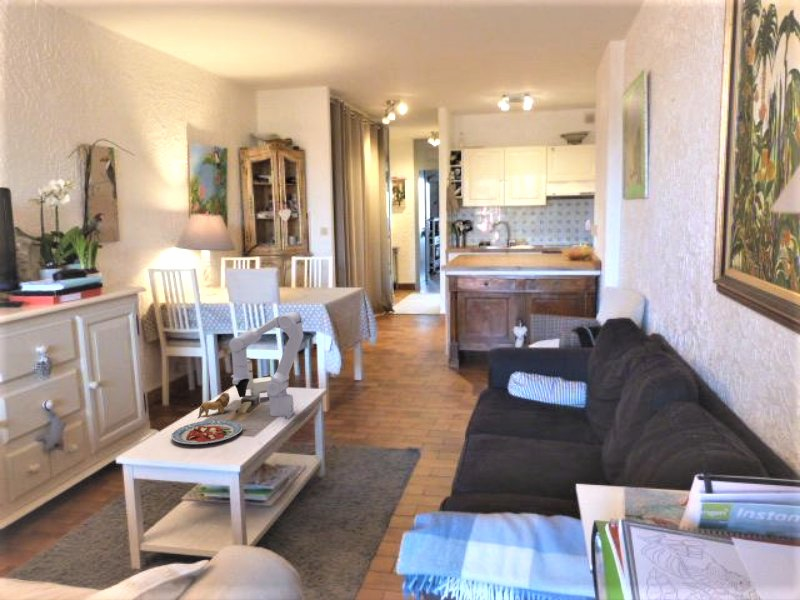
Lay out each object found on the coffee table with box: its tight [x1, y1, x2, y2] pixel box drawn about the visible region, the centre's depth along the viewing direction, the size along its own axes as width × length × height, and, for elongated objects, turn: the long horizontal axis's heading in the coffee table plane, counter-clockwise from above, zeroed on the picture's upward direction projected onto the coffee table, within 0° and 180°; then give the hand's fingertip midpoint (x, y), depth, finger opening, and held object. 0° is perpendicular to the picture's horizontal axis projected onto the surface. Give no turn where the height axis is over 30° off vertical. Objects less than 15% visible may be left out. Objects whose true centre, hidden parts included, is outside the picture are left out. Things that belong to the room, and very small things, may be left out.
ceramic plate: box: [170, 419, 243, 445], centre depth 235 cm, size 26×26×3 cm
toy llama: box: [245, 357, 273, 404], centre depth 276 cm, size 8×18×20 cm, turn 115°
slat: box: [237, 401, 253, 414], centre depth 264 cm, size 3×12×2 cm, turn 174°
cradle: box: [223, 395, 263, 422], centre depth 261 cm, size 9×22×4 cm, turn 174°
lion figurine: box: [197, 392, 231, 419], centre depth 258 cm, size 15×5×9 cm, turn 132°
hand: (242, 396), depth 260 cm, fingers closed
